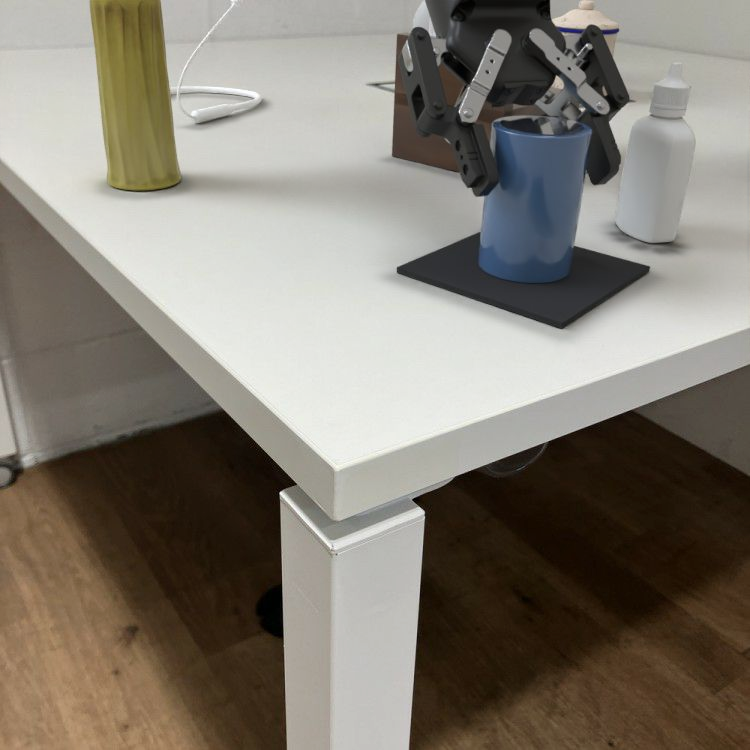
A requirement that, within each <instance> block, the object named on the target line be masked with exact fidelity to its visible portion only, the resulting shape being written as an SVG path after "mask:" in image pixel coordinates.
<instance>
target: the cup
mask: <svg viewBox="0 0 750 750" xmlns="http://www.w3.org/2000/svg"><path fill="white" fill-rule="evenodd" d="M591 138H592V129H591V128H590V127H589V126H587V125H585V124H583V123H580V122H576V121H573V120H568V119H563V118H556V117H547V116H509V117H503V118H499V119H496V120H494V121H493V122H492V124H491V134H490V147H491V150H492V153H493V156H494V160H495V163H496V166H497V169H498V172H499V183H498V184H497V186H496V187H495V188H494V189H493V190H492V191H491V193H490V194H489V195H488V196H483V203H482V215H481V225H480V232H481V234H480V244H479V254H478V264H479V267H480V268H481V269H482V270H483V271H485V272H486V273H488V274H490V275H492V276H494V277H497V278H500V279H504V280H508V281H513V282H520V283H549V282H554V281H558V280H561V279H563V278H565V277H566V276H567V275H568V274H569V273H570V269H571V263H572V257H573V250H574V246H575V244H576V237H577V231H578V224H579V218H580V211H581V206H582V199H583V193H584V188H585V182H586V174H587V170H586V169H587V163H588V156H589V150H590V144H591Z"/></svg>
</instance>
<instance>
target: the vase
mask: <svg viewBox="0 0 750 750" xmlns="http://www.w3.org/2000/svg"><path fill="white" fill-rule="evenodd" d="M89 12H90V22H91V29H92V36H93V45H94V54H95V64H96V74H97V85H98V96H99V105H100V116H101V117H100V119H101V125H102V126H101V128H102V136H103V143H104V144H103V145H104V150H105V159H106V165H107V170H106V171H107V172H106V182H107V184H108V185H109V186H111V187H113V188H116V189H119V190H124V191H138V192H139V191H140V192H141V191H144V192H145V191H157V190H161V189H165V188H166V189H167V188H170V187H173V186H175V185H177V184H178V183H180V181H181V179H182V173H181V172H182V171H181V169H180V165H179V160H178V153H177V146H176V145H177V144H176V137H175V127H174V126H175V125H174V116H173V115H174V114H173V104H172V98H171V94H170V87H171V86H170V81H169V72H168V65H167V50H166V39H165V29H164V28H165V27H164V21H163V19H164V17H163V9H162V0H89Z"/></svg>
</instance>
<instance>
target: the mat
mask: <svg viewBox="0 0 750 750" xmlns="http://www.w3.org/2000/svg"><path fill="white" fill-rule="evenodd" d="M480 234H481V231H479V232H476V233H474V234H471V235H469V236H467V237H464V238H462V239H460V240H457V241H455V242H452V243H451V244H448V245H445V246H443V247H441V248H438V249H436V250H434V251H431V252H429V253H427V254H425V255H422V256H419V257H418V258H417V257H416V258H415V259H412V260H410V261H408V262H405V263H403V264H401V265H398V266H397V267H396V273H397V274H400V275H403V276H406V277H409V278H412V279H414V280H418V281H421V282H423V283H426V284H430V285H432V286H435V287H438V288H441V289H444V290H447V291H450V292H453V293H456V294H459V295H462V296H465V297H468V298H470V299H474V300H476V301H480V302H482V303H485V304H488V305H491V306H494V307H497V308H500V309H503V310H506V311H509V312H511V313H515V314H517V315H520V316H524V317H526V318H529V319H532V320H535V321H537V322H541V323H543V324H547V325H550V326H553V327H556V328H558V329H563V328H565V327H567V326H568V325H569V324H572V323H573V322H574V321H575V320H577V319H579V318H580V317H582V316H583V315H586V313H588V312H590V311H591V310H593V309H594V308H596V307H597V306H599V305H601V304H602V303H603V302H605V301H606V300H609V298H611V297H613V296H615V295H616V294H617V293H619V292H620V291H623V289H625V288H627V287H628V286H629V285H631V284H632V283H634V282H636V281H637V280H639V279H641V278H642V277H643V276H645V275H647V274H649V273H650V271H651V266H650V265H647V264H643V263H639V262H636V261H632V260H628V259H625V258H622V257H617V256H614V255H610V254H607V253H603V252H599V251H595V250H592V249H588V248H585V247H581V246H577V245H574V250H573V257H572V263H571V269H570V273H569V274H568V275H567V276H566V277H565V278H563V279H561V280H558V281H554V282H549V283H520V282H513V281H508V280H504V279H500V278H497V277H494V276H492V275H490V274H488V273H486V272H485V271H483V270H482V269H481V268H480V267H479V264H478V254H479V244H480Z"/></svg>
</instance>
